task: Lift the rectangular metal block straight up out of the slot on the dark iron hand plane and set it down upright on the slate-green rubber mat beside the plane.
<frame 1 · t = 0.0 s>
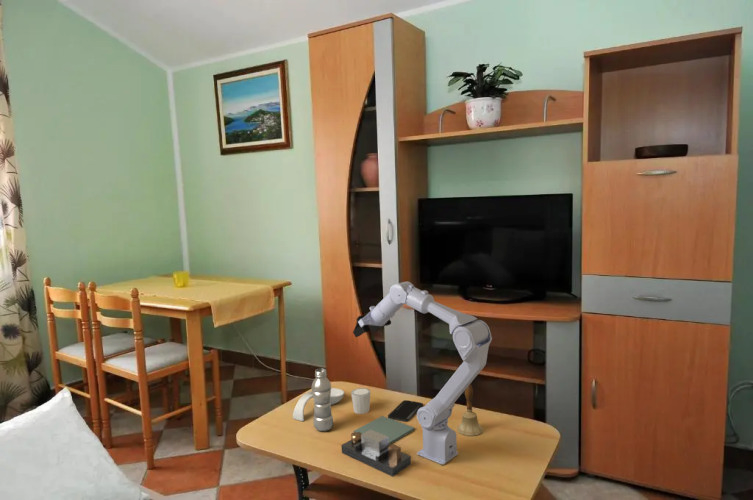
hand: (363, 331, 161), 32 cm above the table, tool tilted 50°, fingers open, 7 cm apart
silver metal bottle: (323, 429, 164), on the table
rubber mat: (384, 431, 161), on the table
phone: (405, 413, 175), on the table
hand plane: (375, 458, 144), on the table
hand bell: (470, 430, 160), on the table
grey and white cylinder: (361, 411, 177), on the table
spoon rest: (319, 408, 181), on the table
rectangular metal block: (375, 450, 144), point 2 cm above the table, touching hand plane
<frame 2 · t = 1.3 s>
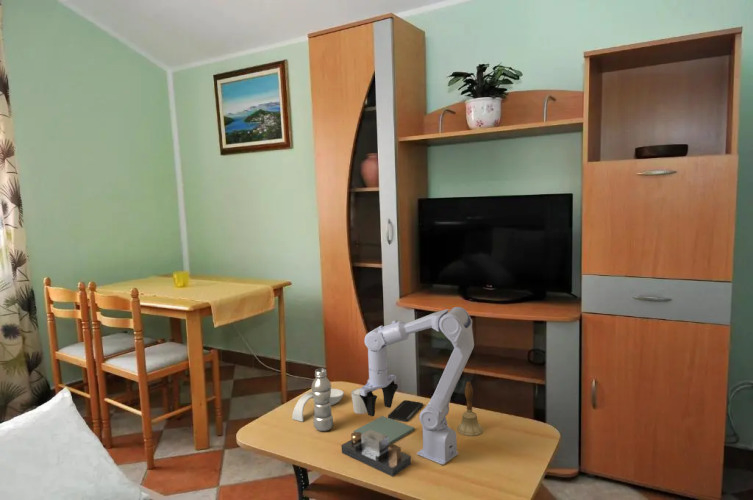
hand: (379, 411, 152), 10 cm above the table, tool pointing down, fingers open, 7 cm apart
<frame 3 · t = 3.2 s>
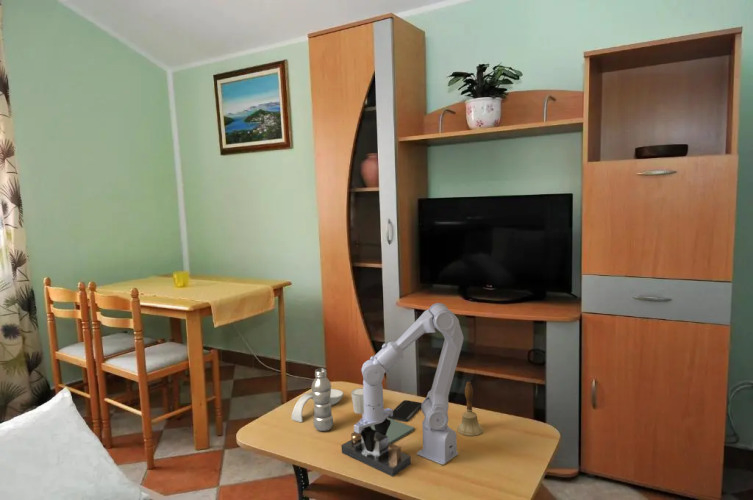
hand: (375, 447, 144), 3 cm above the table, tool pointing down, fingers closed on rectangular metal block, 4 cm apart
rectangular metal block: (375, 450, 144), point 2 cm above the table, touching gripper, hand plane
when the fingers open (3 cm above the table, at t = 7.7 s): rectangular metal block drops 1 cm, resting on rubber mat.
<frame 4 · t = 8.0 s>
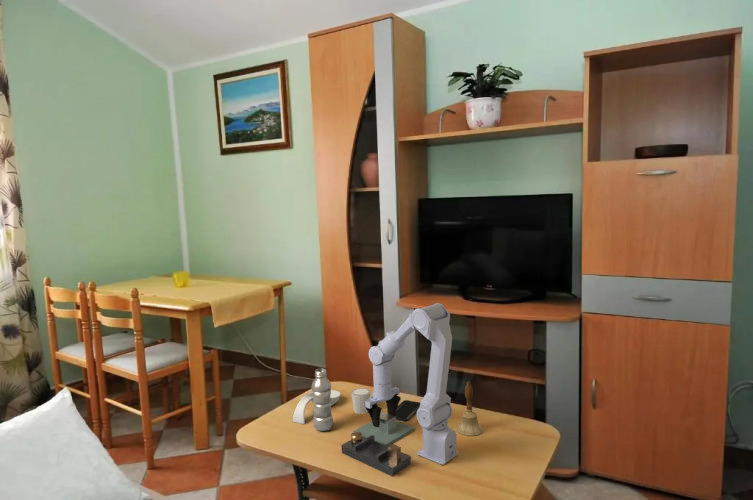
hand: (383, 422, 160), 3 cm above the table, tool pointing down, fingers open, 7 cm apart
rectangular metal block: (383, 429, 161), point 1 cm above the table, touching rubber mat
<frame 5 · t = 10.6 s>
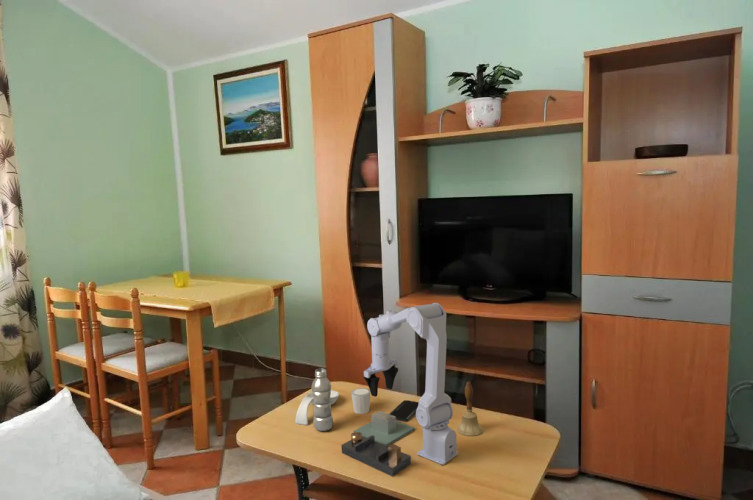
hand: (381, 392, 167), 10 cm above the table, tool pointing down, fingers open, 7 cm apart
at the end: rectangular metal block inside the target area on the rubber mat (0.1 cm from its centre), point 0.8 cm above the rubber mat's base; rectangular metal block tilted 0°; the gripper is holding nothing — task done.
